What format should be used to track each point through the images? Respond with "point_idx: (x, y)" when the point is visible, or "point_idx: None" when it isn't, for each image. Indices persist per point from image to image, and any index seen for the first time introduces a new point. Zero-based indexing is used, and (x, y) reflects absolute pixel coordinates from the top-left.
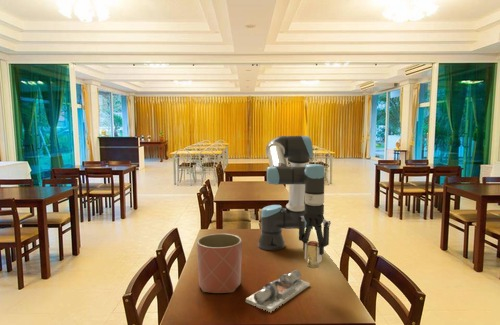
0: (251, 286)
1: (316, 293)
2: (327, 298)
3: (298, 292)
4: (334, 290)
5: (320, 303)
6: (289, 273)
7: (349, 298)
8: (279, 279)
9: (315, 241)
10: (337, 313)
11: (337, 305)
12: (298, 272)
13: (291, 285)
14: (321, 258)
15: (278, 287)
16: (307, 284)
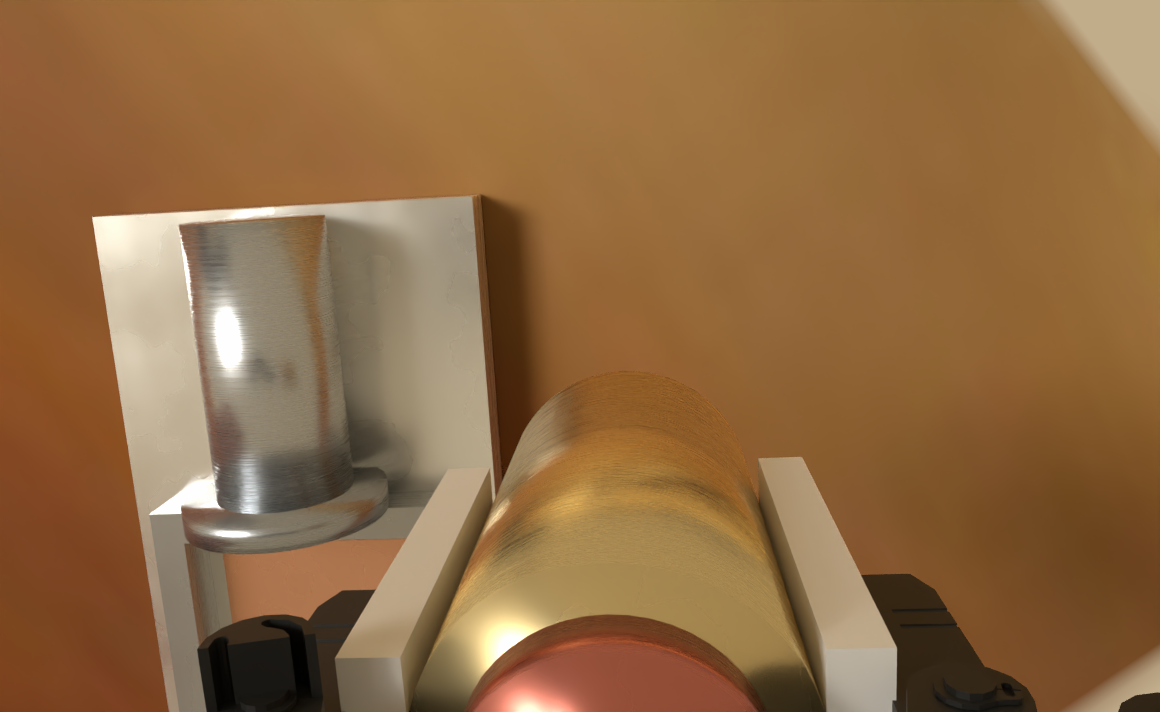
0: (8, 669)
1: (664, 310)
2: (835, 330)
3: (498, 463)
4: (805, 70)
5: (827, 489)
6: (217, 396)
7: (1063, 137)
8: (132, 394)
9: (611, 677)
10: (1084, 554)
11: (1010, 400)
12: (278, 254)
13: (402, 527)
14: (811, 487)
15: (283, 592)
16: (478, 247)
